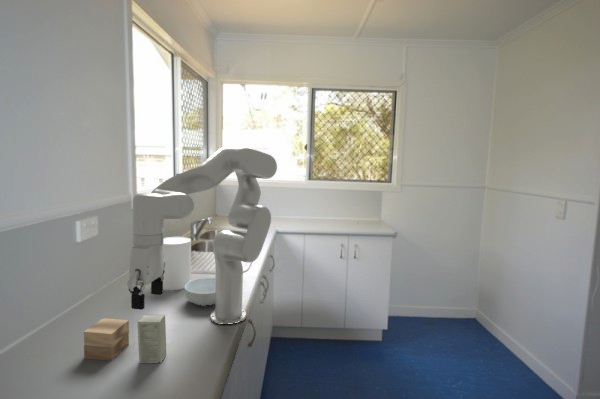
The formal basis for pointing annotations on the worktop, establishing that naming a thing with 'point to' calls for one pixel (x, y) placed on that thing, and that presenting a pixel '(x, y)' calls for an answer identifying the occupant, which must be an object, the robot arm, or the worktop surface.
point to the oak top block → (106, 332)
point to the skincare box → (151, 338)
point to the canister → (176, 262)
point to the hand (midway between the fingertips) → (147, 301)
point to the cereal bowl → (201, 291)
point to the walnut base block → (106, 350)
